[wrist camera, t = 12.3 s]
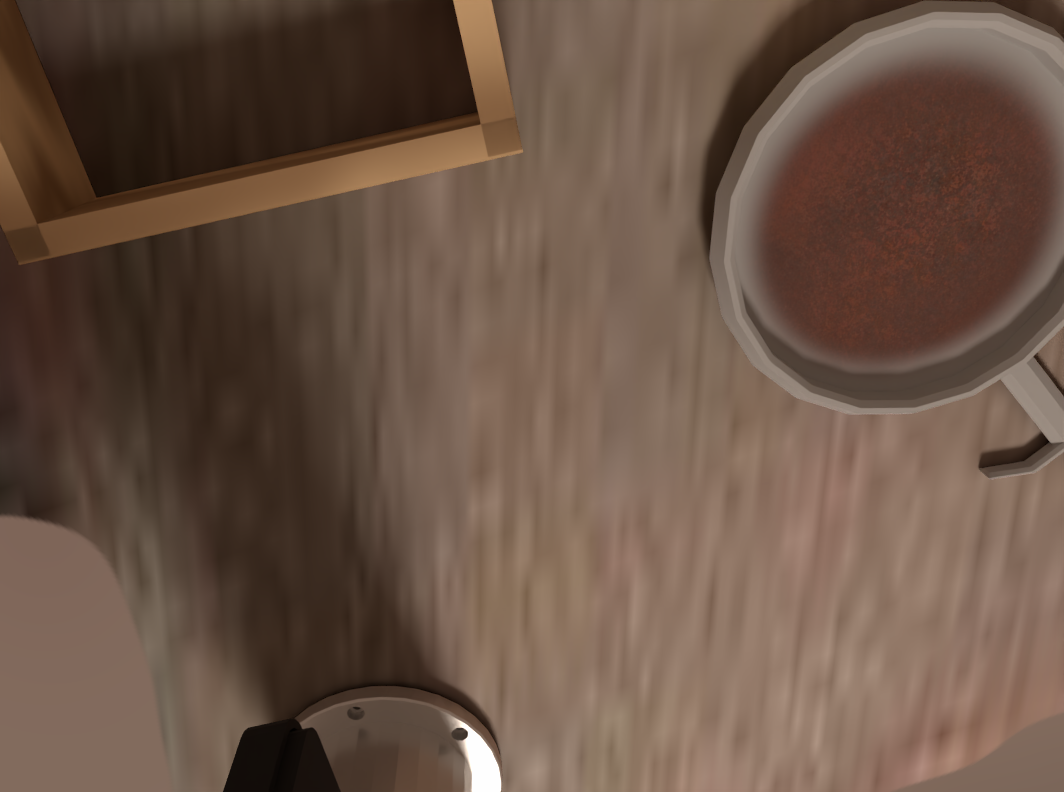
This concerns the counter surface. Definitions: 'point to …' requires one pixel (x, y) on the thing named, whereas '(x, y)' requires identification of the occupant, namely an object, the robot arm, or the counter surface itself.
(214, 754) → the counter surface
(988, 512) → the counter surface
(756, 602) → the counter surface
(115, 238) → the rack
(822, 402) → the frying pan
